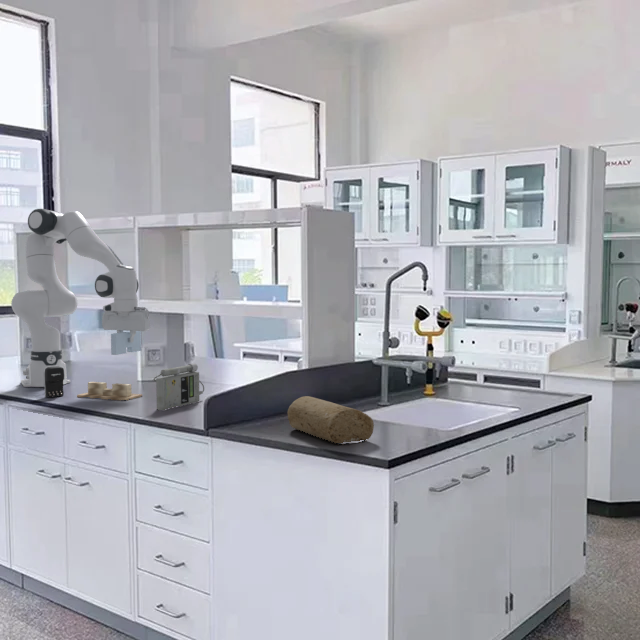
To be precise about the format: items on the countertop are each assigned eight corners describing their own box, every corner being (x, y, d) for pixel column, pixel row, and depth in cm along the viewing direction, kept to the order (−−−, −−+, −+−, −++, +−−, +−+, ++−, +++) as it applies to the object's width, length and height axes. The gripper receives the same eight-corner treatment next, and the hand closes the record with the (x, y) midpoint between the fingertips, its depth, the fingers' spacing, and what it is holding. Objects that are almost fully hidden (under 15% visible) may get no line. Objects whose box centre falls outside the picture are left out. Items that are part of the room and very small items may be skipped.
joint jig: (77, 397, 278) (76, 383, 278) (94, 392, 288) (94, 380, 287) (125, 400, 270) (125, 387, 270) (142, 396, 279) (142, 383, 279)
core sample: (323, 425, 228) (323, 392, 227) (374, 442, 205) (375, 406, 205) (283, 430, 220) (283, 397, 220) (332, 449, 198) (331, 411, 197)
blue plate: (116, 354, 284) (116, 333, 283) (111, 354, 285) (110, 333, 284) (141, 350, 298) (141, 330, 298) (136, 350, 299) (136, 330, 299)
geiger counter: (164, 370, 249) (210, 361, 271) (150, 368, 252) (196, 360, 274) (165, 411, 250) (211, 399, 272) (150, 409, 253) (197, 398, 275)
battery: (47, 398, 276) (47, 367, 275) (43, 397, 278) (42, 366, 278) (66, 396, 280) (65, 366, 279) (62, 395, 283) (61, 365, 282)
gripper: (153, 306, 289) (153, 342, 290) (109, 305, 297) (110, 340, 298) (143, 307, 283) (144, 343, 284) (99, 306, 291) (100, 342, 292)
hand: (126, 342), depth 291 cm, fingers closed on blue plate, 2 cm apart
